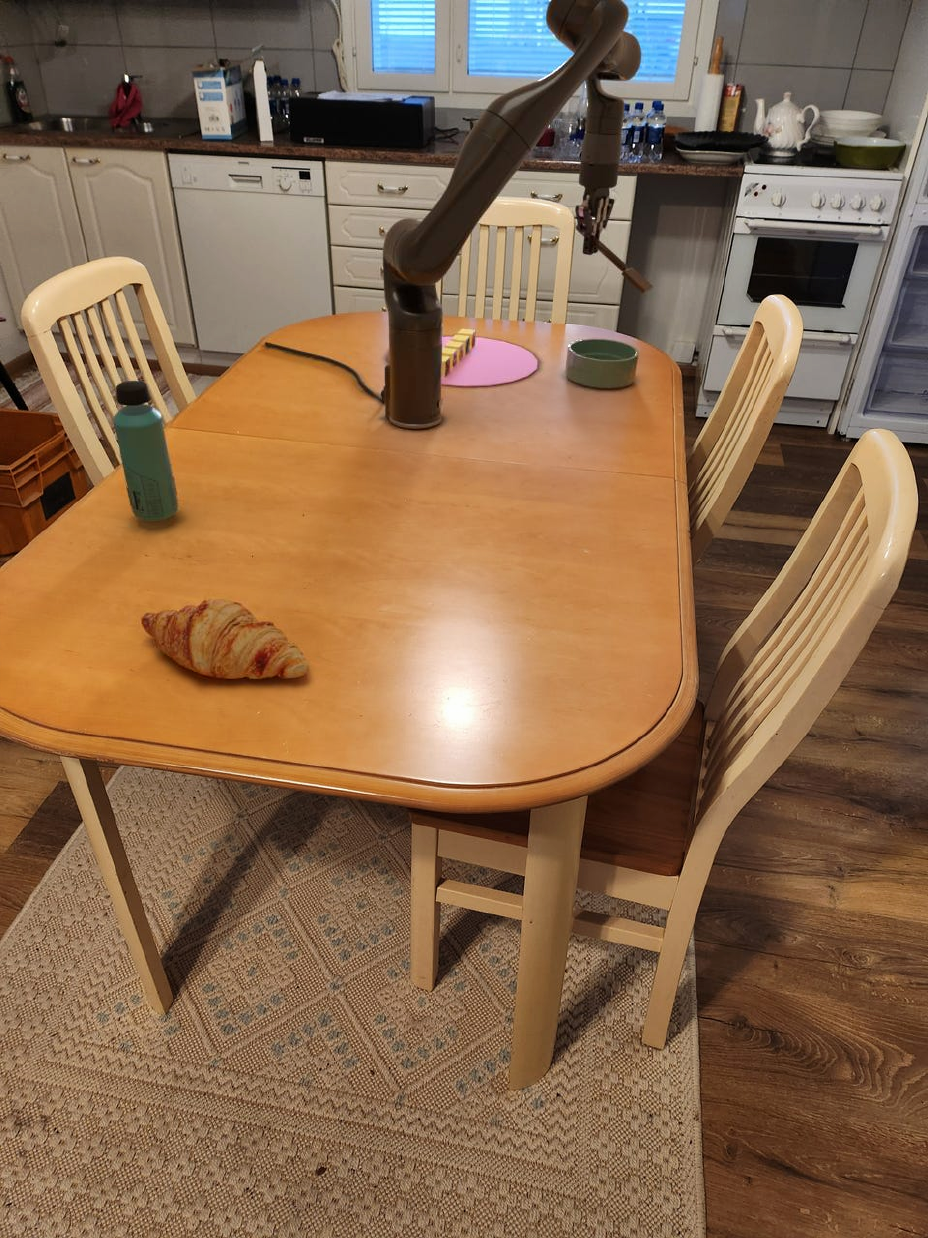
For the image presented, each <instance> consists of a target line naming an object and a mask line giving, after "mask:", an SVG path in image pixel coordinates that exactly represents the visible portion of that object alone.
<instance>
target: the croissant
mask: <svg viewBox="0 0 928 1238" xmlns="http://www.w3.org/2000/svg"><path fill="white" fill-rule="evenodd" d="M140 622H141V626H142V627H143V630H144V631H145V633H147V634H148V635H149V636H151V637H152V638H153V640H154V642H155V644H156V645H155V646H157V648H158V649H159V650H160V651H161V652H163V654H165V655H167V656H168V657H169V658H171V659H172V660H173V661H174V662H175V663H177V664H178V665H179V666H181V667H182V668H183V667H184V668H185V669H187V670H190V671H192V672H194V673H195V672H196V673H198V674H199V675H203V676H208V677H211V678H215V679H231V680H232V679H243V678H248V680H249V679H250V680H261V679H266V678H270V679H271V678H273V677H274V676H275V677H278V678H281V679H295V678H300V677H303V676H304V675H306V674H308V672H309V671H310V664H309V662H307V659H306V657H305V656H304V653H303V651H301V649H300V647H299V646H298V644H296V643H294V642H293V643H292V642H290V641H289V640H288V637H287V636H286V634H285V633H284V632H283V630H282V629H280V628H278V627H276V625H275V624H274V622H272V621H259V619H258V618H257V617H256V616H254V614H253V612H251V610H249V609H248V608H246V607H245V606H243V605H242V603H241V602H238V601H234V600H230V599H229V600H227V599H222V598H217V599H216V598H215V599H211V598H209V599H207V600H206V599H204V600H202V601H201V603H200V604H199V605H198V606H197V605H193V604H189V605H186V606H184V607H182V608H181V609H179V611H178V610H175V609H165V610H164V609H163V610H161V611H159V612H157V613H153V612H146V613H145V614H144V615H143V616H141V621H140Z"/></svg>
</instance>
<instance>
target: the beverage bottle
mask: <svg viewBox="0 0 928 1238" xmlns="http://www.w3.org/2000/svg"><path fill="white" fill-rule="evenodd" d="M115 394H116V403H117V404H119V405H121V406H123V407H120V409H119V410H118V411H117V412H116V413H115V414H114V416H113V418H112V424H113V425H114V426H113V427H114V431H115V435H116V439H117V445H118V449H119V451H117V452H118V454H119V455H118V456H119V458H120V460H121V464H122V469H123V475H124V478H123V479H124V482H125V484H126V486H125V488H126V492H127V498H128V503H129V505H130V510H131V512H132V513H133V515H134V516H135V517H136V519H139V520H141V521H144V522H158V521H163V520H167V519H169V518H172V517H174V515H176V514H177V512H178V510H179V506H180V504H179V498H178V491H177V486H176V481H175V477H174V476H175V474H174V472H173V466H172V462H171V457H170V454H169V450H168V444H167V438H166V433H165V429H164V427H165V426H164V422H163V414H162V413H161V412H160V411H159V410H157V409H156V408H155V407H153V406H152V405H150V404H147V403H148V402H150V401H151V395H150V393H149V389H148V385H147V383H146V382H144V381H140V380H127V381H123V382H119V383H118V384H117V385H116V386H115Z"/></svg>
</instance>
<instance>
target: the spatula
mask: <svg viewBox="0 0 928 1238" xmlns="http://www.w3.org/2000/svg"><path fill="white" fill-rule="evenodd" d="M575 230H576V231H577V232H578V233H579V234H580V235H581V236H582V237H583V238H584V234H583V233H582V232H579V229H578V223H577V224H576V226H575ZM594 247H595V248H597V249H598V252H599V253H601V254H602V255H603V256H604V257H605V258H606V259H607V260H608V261H609V262H610V263H612V264H613V265H614V266H615V267H616V268H617V269H618V270H619V271H620V272H621V275H622V276H623V277H624V278H625V279H626V280H627V281H628V282H629V283H630V284H632V286H633V287H634V288H635V289H637V290H638V291H639V292H640V293H641V294H642V295H644V294H645V293H647V292H650V291H651V290H652V289H653V287H654V285H653V284H652V283H650V282H649V281H648V280H647V279H646V278H645V277H644V276H643V275H641V274H640V272H638V270H636V269H635V268H634V267H632V266H631V267H629V268H628V266H627V264H626V263H625V262H624V261H623V260H622V259H620V257H618V256H617V254H615V253H614V252H613V251H612V250H611V249H609V247H607V246H606V245H605V244H604V242H603V241H601V240H600V238H599V239H597V238H596V237H595V244H594Z"/></svg>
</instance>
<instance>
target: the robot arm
mask: <svg viewBox="0 0 928 1238" xmlns="http://www.w3.org/2000/svg"><path fill="white" fill-rule="evenodd" d="M629 10H630V9H629V7H628V5H627V4H626V3H625V1H623V0H549V2H548V5H547V7H546V12H545V13H546V14H545V23H546V27H547V29H548V30H549V32H550V33H551V34H552V36H553V37H554V38H555V39H556V40H557V41H559V42H560V43H561V44H562V45H563V46H564V47H566V48H567V49H568V50H569V51H571V52H572V55H571V56H570V57H569V58H568V59H567V60H566V61H565V62H564V63H562V65H561V66H559V67H558V68H556V70H554V71H552V72H551V73H550V74H548V75H546V76H544V77H542V78H540V79H538V80H536V81H533V82H530V83H528V84H525V85H523V86H520V87H517V88H515V89H512V90H511V91H508V92H506V93H503V94H502V95H500V96H498V97H497V98H495V99H494V100H493V101H492V102H491V103H490V104H489V105H488V106H487V108H486V109H485V110H484V112H483V113H482V114H481V116H480V117H479V119H478V120H477V121H476V122H475V124H474V126H473V127H472V129H471V130H470V131H469V133H468V135H467V136H466V137H465V139H464V141H463V144H462V146H461V148H460V150H459V153H458V155H457V159H456V162H455V165H454V167H453V171H452V174H451V177H450V179H449V181H448V183H447V186H446V188H445V190H444V191H443V193H442V194H441V196H440V198H439V199H438V201H437V202H436V203H435V204H434V206H433V207H432V208H431V210H430V211H429V212H428V214H427V215H426V216H425V217H424V218H423V219H422V220H420V219H418V218H411V217H409V218H408V217H407V218H403V219H400V220H398V221H396V222H395V223H393V225H392V226H391V227H390V228H389V229H388V230H387V232H386V235H385V238H384V241H383V246H382V276H383V279H382V280H383V297H384V303H385V307H386V311H387V315H388V317H387V319H388V357H389V358H388V364H387V365H385V366H384V386H383V389H382V390H381V391H380V396H378V395H377V394H376V393H374V391H372V390H371V389H370V388H369V387H368V386H367V385H366V384H365V383H364V382H363V381H362V379H361V377H360V374H359V373H358V372H357V371H356V370H355V369H353V368H352V367H350V366H349V365H346V364H345V363H343V362H340V361H338V360H335V359H333V358H329V357H327V356H324V355H320V354H316V353H312V352H308V351H307V352H306V351H302V350H299V349H294V348H290V347H286V346H283V345H279V344H275V343H271V342H268V341H265V342H264V346H266V347H270V348H273V349H277V350H281V351H285V352H289V353H292V354H296V355H300V356H305V357H309V358H312V359H313V358H314V359H317V360H321V361H324V362H327V363H330V364H334V365H336V366H338V367H340V368H343V369H345V370H346V371H348V372H349V373H351V374H352V375H353V376H354V377H355V379H356V381H357V383H358V385H360V387H361V388H362V389H363V390H364V391H365V392H366V393H367V394H368V395H370V396H371V397H373V398H375V399H377V400H378V401H380V402H381V403H384V411H385V412H384V418H385V419H388V420H389V422H390V423H391V424H392V425H394V426H396V427H400V428H403V429H409V430H424V429H430V428H432V427H435V426H437V425H440V423H441V422H442V405H443V402H444V398H443V396H442V385H441V379H442V337H443V329H444V328H443V325H444V323H443V322H444V310H443V307H442V304H441V302H440V299H439V296H438V293H437V286H436V284H437V283H438V282H440V281H441V280H442V279H443V278H444V277H446V275H447V273H448V272H449V270H450V269H451V267H452V266H453V264H454V262H455V261H456V259H457V258H458V256H459V254H460V252H461V250H462V249H463V247H464V245H465V244H466V242H467V241H468V239H469V237H470V235H471V234H472V233H473V231H474V229H475V228H476V226H477V224H478V223H479V222H480V220H481V219H482V217H483V216H484V215H485V213H486V212H487V211H488V210H489V208H491V206H492V204H493V203H494V202H495V201H496V199H497V198H498V196H499V195H500V194H501V192H502V191H503V190H504V188H505V187H506V185H507V184H508V183H509V182H510V180H511V179H512V178H513V177H514V175H515V174H516V173H517V172H518V170H519V169H520V168H521V167H522V165H523V164H524V162H525V161H526V160H527V158H528V157H529V155H530V154H531V153H532V151H533V150H534V148H535V147H536V146H537V144H538V143H539V142H540V140H541V138H542V137H543V136H544V135H545V133H546V131H547V130H548V128H549V127H550V125H551V124H552V123H553V121H554V120H555V119H556V117H557V116H558V115H559V113H560V112H561V111H562V109H563V108H564V107H565V105H566V104H567V103H568V101H569V100H570V99H571V98H572V97H573V95H575V93H576V92H577V90H578V89H579V88H580V87H581V86H582V85H583V83H584V82H585V89H586V117H585V128H584V135H583V140H582V147H581V153H580V154H581V155H580V162H579V163H580V165H579V173H578V175H579V176H578V184H579V185H580V186H581V187H583V188H584V190H583V191H584V192H583V195H582V203H581V204H580V205H579V204H577V205H575V207H574V210H575V217H576V222H577V224H578V229H579V232H582V233H583V234H584V237H583V243H582V254H583V255H587V256H593V254H597V253H599V250H598V249H597V248H595V247H594V244H595V237H596V238H597V239H599V240H600V238H601V234H602V233H603V229H605V230H606V228H607V226H608V223H609V219H610V217H611V214H612V211H613V209H614V204H615V198H611V197H610V194H611V193H610V189H613V188H615V187H616V186H617V185H618V178H619V171H620V160H621V154H622V136H623V135H622V132H623V125H624V116H625V109H626V107H625V106H626V104H625V100H624V99H623V98H622V97H619V96H617V95H613V94H610V93H608V92H606V91H605V90H604V89H603V87H602V83H601V81H606V82H607V81H608V82H628V81H630V80H632V79H633V78H634V77H635V76H636V75H637V73H638V72H639V70H640V66H641V63H642V48H641V45H640V42H639V40H638V38H637V37H636V36H635V35H634V34H632V33H630V32H627V31H625V28H626V26H627V23H628V21H629V16H630V11H629ZM579 232H578V233H579Z"/></svg>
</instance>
